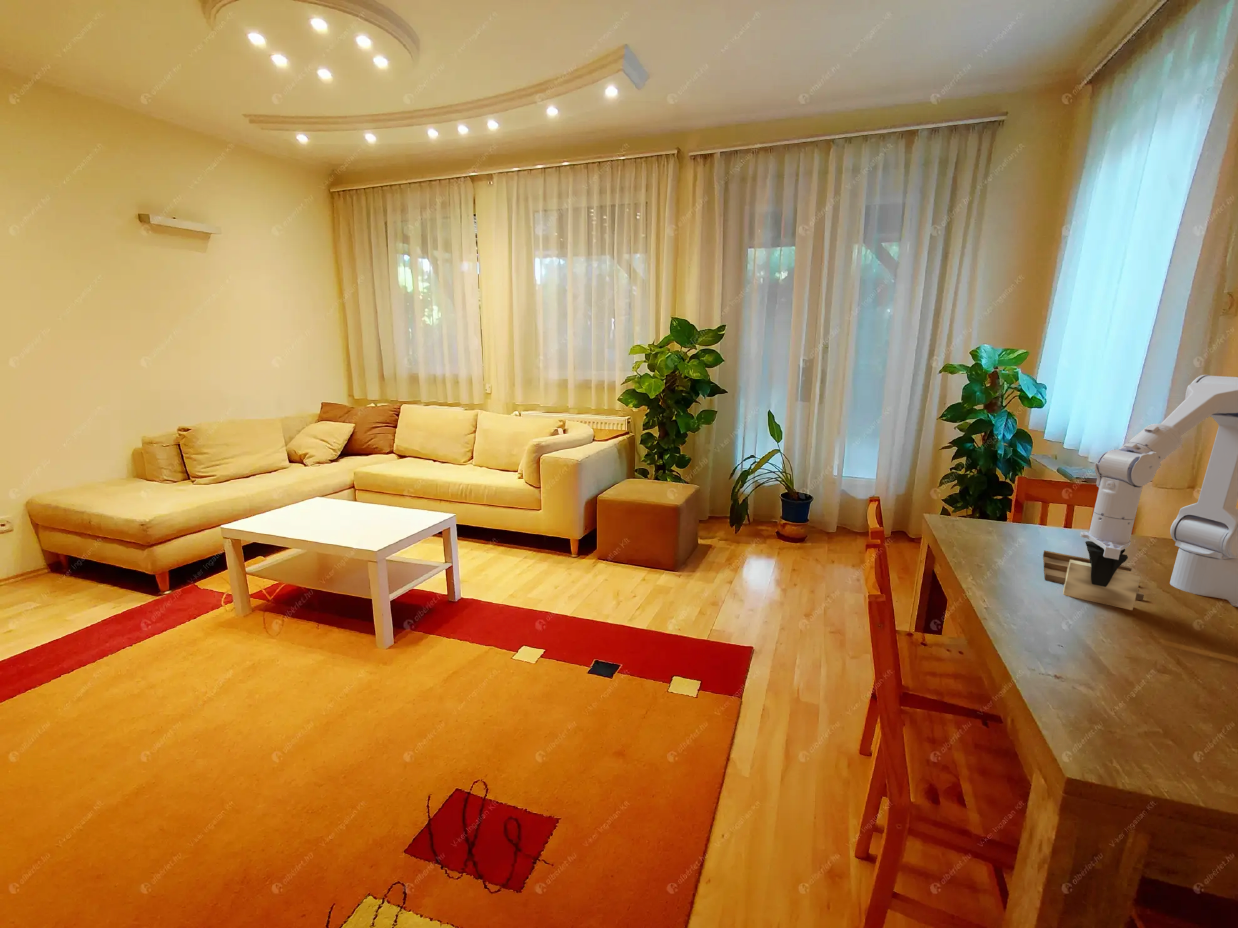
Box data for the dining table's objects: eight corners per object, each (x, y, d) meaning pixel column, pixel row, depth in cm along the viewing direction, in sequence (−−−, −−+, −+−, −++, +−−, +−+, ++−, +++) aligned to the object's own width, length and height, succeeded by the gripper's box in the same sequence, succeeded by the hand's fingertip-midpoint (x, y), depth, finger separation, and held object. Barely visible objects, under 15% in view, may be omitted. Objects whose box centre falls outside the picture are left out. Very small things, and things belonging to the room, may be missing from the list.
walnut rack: (1129, 575, 117) (1131, 566, 117) (1141, 604, 104) (1144, 594, 103) (1042, 558, 126) (1044, 550, 125) (1043, 582, 113) (1045, 574, 112)
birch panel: (1130, 607, 101) (1139, 572, 100) (1132, 611, 100) (1140, 576, 98) (1062, 592, 107) (1069, 559, 106) (1063, 595, 106) (1070, 562, 104)
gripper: (1082, 502, 108) (1069, 565, 111) (1089, 520, 97) (1073, 589, 100) (1130, 509, 104) (1114, 574, 107) (1142, 528, 92) (1124, 601, 95)
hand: (1098, 582), depth 103 cm, fingers closed on birch panel, 2 cm apart
